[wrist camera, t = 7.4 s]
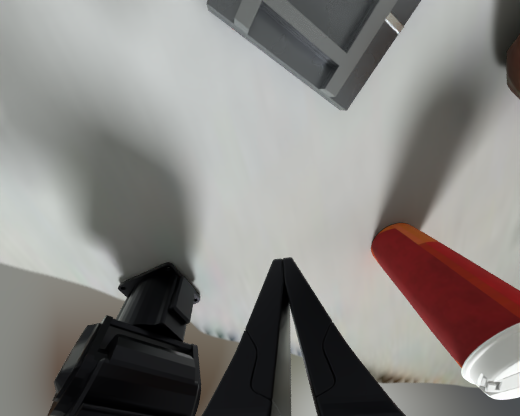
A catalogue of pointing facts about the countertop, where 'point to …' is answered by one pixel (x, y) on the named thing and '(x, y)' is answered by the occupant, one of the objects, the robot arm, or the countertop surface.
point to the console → (320, 37)
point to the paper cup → (457, 306)
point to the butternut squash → (514, 67)
